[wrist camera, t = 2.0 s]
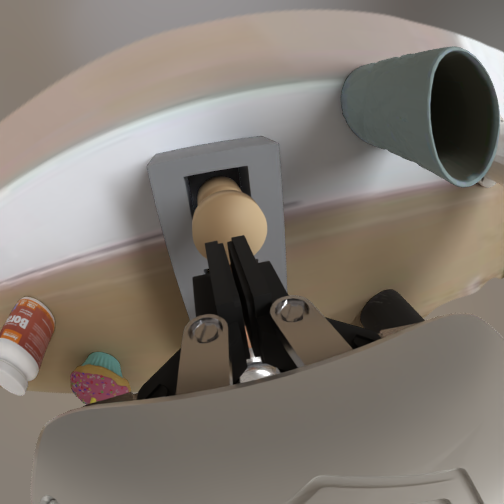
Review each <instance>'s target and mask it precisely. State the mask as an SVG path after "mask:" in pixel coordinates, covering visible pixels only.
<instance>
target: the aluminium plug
mask: <svg viewBox="0 0 504 504" xmlns="http://www.w3.org/2000/svg"><path fill="white" fill-rule="evenodd" d="M249 352H250V357H251V359H247V360H246V361H247V366H248V368H247V369H246V370H245V372H244V373H243V374H242V375H241V377H240V378H241V381H242V383H243V382H248V381H252V380H256V379H260V378H264V377H268V376H272V375H275V374H276V371H275V368H274V366H271V365H269V364H266V363H265V364H262V361H261V358H260V357H256V358H255V356H254V353H253V350H252V348H249Z"/></svg>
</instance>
